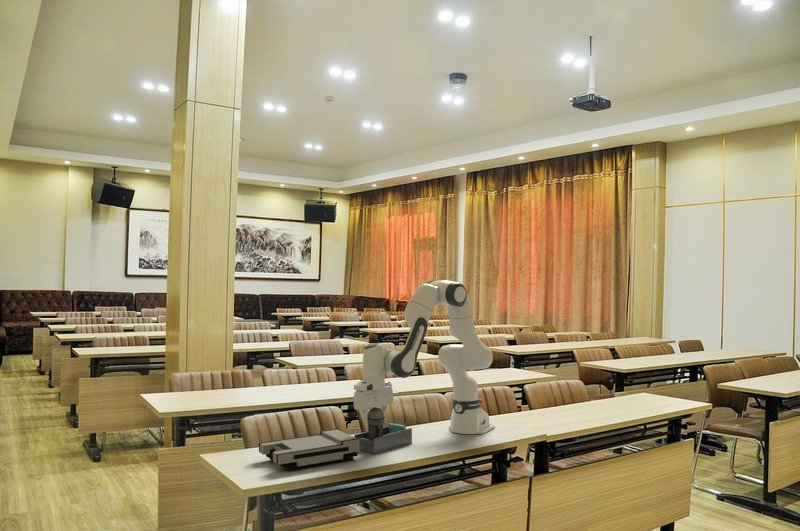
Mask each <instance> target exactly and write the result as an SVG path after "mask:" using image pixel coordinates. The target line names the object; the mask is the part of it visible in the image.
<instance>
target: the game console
mask: <svg viewBox="0 0 800 531" xmlns="http://www.w3.org/2000/svg"><path fill="white" fill-rule="evenodd" d="M258 452H259V453H260V454H261V455H264V456H265V457H266V458H267V459H269V460H271V461H273V463H275V464H276V465H278V466H279V467H281V468H283V469H287V470H288V471H289V472H295V471H296V472H297V471H300V470H307V469H313V468H320V467H325V466H330V465H331V464H332V465H336V464H342V463H348V462H354V457H358V456H359V455H358V452H360V451H359V439H358V438H356V437H354V436H353V435H351V434H348V433H346V432H344V431H342V430H339V429H336V428H334V429H326V430H320V432H319V434H312V435H304V436H299V437H291V438H283V439H277V440H270V441H262V442H259V443H258ZM332 465H331V466H332Z"/></svg>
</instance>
